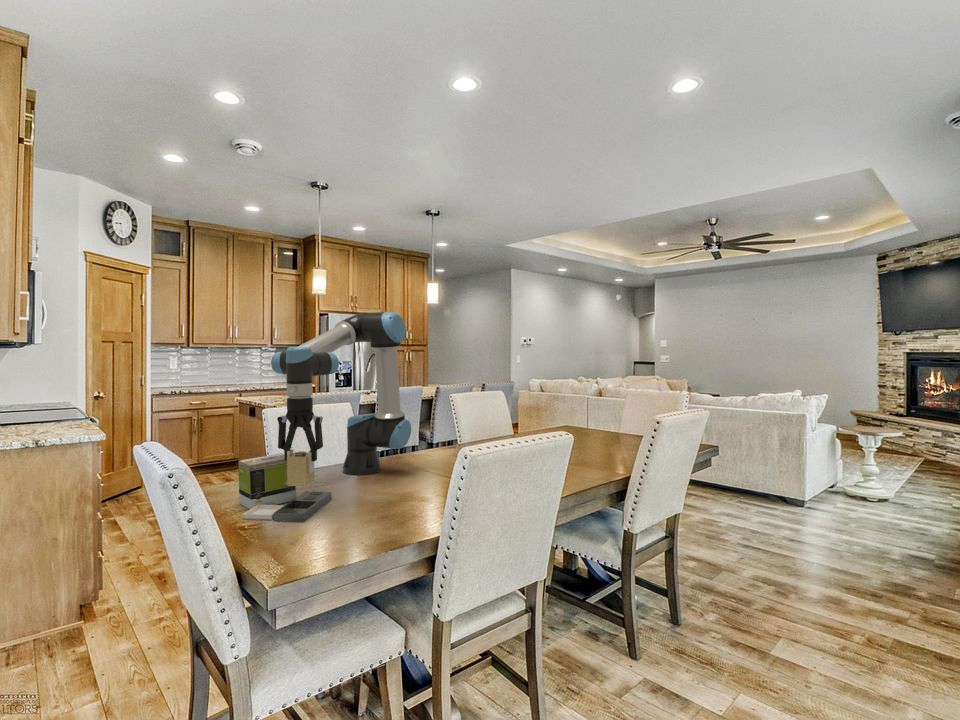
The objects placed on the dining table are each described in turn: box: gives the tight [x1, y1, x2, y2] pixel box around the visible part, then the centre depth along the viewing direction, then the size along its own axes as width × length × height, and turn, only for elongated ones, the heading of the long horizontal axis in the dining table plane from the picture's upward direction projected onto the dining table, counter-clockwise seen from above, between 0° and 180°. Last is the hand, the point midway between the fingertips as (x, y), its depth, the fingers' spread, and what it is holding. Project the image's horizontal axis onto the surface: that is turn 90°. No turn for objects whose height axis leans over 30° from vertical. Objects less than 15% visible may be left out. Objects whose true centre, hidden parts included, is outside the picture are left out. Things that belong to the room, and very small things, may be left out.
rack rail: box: [273, 490, 333, 523], centre depth 164 cm, size 22×9×3 cm, turn 175°
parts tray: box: [242, 504, 285, 521], centre depth 159 cm, size 9×9×2 cm
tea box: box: [238, 452, 297, 510], centre depth 171 cm, size 15×10×15 cm
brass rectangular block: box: [287, 451, 315, 487], centre depth 161 cm, size 6×6×10 cm
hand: (300, 471), depth 161 cm, fingers closed on brass rectangular block, 6 cm apart
